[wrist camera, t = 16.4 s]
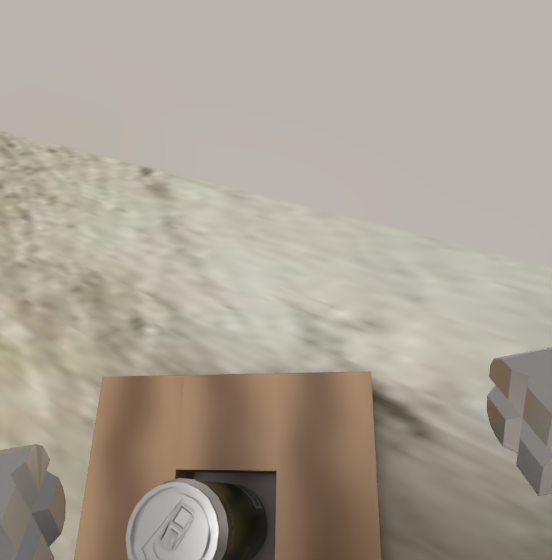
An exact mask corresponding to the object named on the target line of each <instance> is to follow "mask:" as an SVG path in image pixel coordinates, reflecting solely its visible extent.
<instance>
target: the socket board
mask: <svg viewBox="0 0 552 560" xmlns="http://www.w3.org/2000/svg"><path fill="white" fill-rule="evenodd" d="M177 478H185V479H196V480H204V481H212V482H221V483H229V484H238V485H241V486H243V487H245V488H247V489H250V490H251V491H252V492H253V493H254V494H255V495H256V496H257V497H258V498H259V500H260V502H261V504H262V506H263V508H264V511H265V516H266V521H267V524H266V536H265V538H264V541H263V544H262V546H261V548H260V550H259V551H258V552H257V554H256V555H255V556H254V557H253V559H251V560H381V545H380V526H379V508H378V490H377V471H376V453H375V435H374V416H373V398H372V380H371V372H324V373H274V374H224V375H174V376H123V377H103V379H102V385H101V391H100V398H99V404H98V411H97V417H96V423H95V430H94V436H93V442H92V449H91V455H90V461H89V468H88V474H87V480H86V487H85V493H84V499H83V506H82V512H81V519H80V525H79V531H78V538H77V544H76V550H75V557H74V560H129V558H128V555H127V547H126V533H127V527H128V522H129V519H130V517H131V515H132V513H133V510H134V508H135V506H136V505H137V504H138V503H139V501H140V500H141V499H142V498H143V497H144V495H145V494H146V493H148V492H149V491H151V490H152V489H154V488H156V487H157V486H159V485H160V484H162V483H163V482H166V481H170V480H173V479H177Z"/></svg>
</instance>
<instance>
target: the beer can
mask: <svg viewBox="0 0 552 560" xmlns="http://www.w3.org/2000/svg"><path fill="white" fill-rule="evenodd" d="M266 524H267V521H266V516H265V511H264V508H263V506H262V504H261V502H260V500H259V498H258V497H257V496H256V495H255V494H254V493H253V492H252V491H251V490H250V489H247V488H245V487H243V486H241V485H238V484H229V483H221V482H212V481H204V480H196V479H185V478H177V479H173V480H170V481H166V482H163V483H162V484H160V485H159V486H157V487H156V488H154V489H152V490H151V491H149V492H148V493H146V494H145V495H144V497H143V498H142V499H141V500H140V501H139V503H138V504H137V505H136V506H135V508H134V510H133V513H132V515H131V517H130V519H129V522H128V527H127V533H126V547H127V555H128V558H129V560H251V559H253V557H254V556H255V555H256V554H257V552H258V551H259V550H260V548H261V546H262V544H263V541H264V538H265V536H266Z"/></svg>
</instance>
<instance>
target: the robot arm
mask: <svg viewBox="0 0 552 560" xmlns="http://www.w3.org/2000/svg"><path fill="white" fill-rule="evenodd" d="M489 377H490V378H491V379H492V381H493V382H494V383H495V384H496V386H495V387H494V388H493V389H492V391H491V392H490V393H489V394H488V396H487V413H488V417H489V421H490V425H491V427H492V429H493V431H494V433H495V435H496V437H497V438H498V440H499V441H500V443H501V444H502V446H504V447H506V448H508V449H509V450H511V451H513V452H515V453H517V454H518V457H517V467H518V468H519V469H520V471H521V472H522V474H523V475H524V476H525V478H526V479H527V480H528V482H529V483H530V485H531V486H532V487H533V489H534V490H535V492H536V493H537V494H538V496H541V495H547V494H552V347H548V348H546V349H541V350H536V351H530V352H525V353H520V354H515V355H510V356H505V357H500V358H494V360H493V362H492V363H491V365H490V374H489ZM49 461H50V459H49V457H48V455H47V453H46V451H45V449H44V447H43V446H41V445H37V444H35V445H29V446H23V447H16V448H10V449H4V450H0V560H54V556H53V554H52V552H51V550H50V548H49V546H50V545H51V544H52V543H53V542H54V541H55V540H56V539H57V538H58V536H59V535H60V534H61V532H62V528H63V524H64V520H65V504H66V500H65V495H64V491H63V487H62V485H61V482H60V480H59V478H58V477H56V476H54V475H53V474H51V473H49V472H47V471H46V470H47V467H48V464H49Z"/></svg>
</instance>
